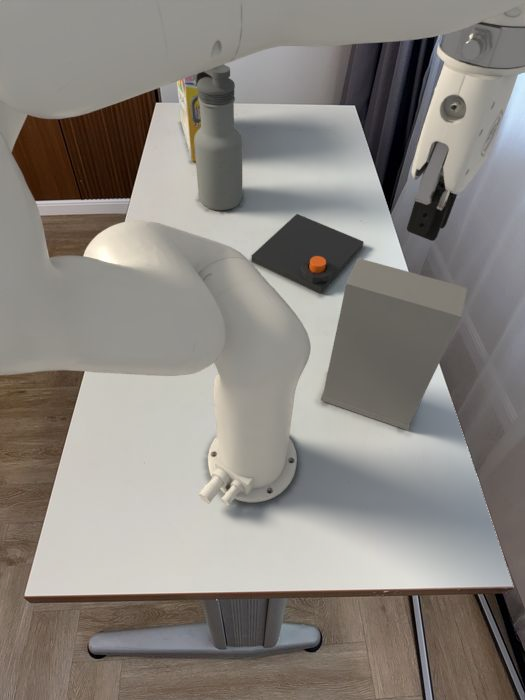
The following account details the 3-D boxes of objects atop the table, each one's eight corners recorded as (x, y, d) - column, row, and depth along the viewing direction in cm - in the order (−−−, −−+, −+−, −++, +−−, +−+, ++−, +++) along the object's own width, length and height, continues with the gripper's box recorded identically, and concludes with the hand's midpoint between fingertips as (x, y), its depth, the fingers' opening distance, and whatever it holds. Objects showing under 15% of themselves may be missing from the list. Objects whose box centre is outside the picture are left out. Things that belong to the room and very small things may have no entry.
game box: (213, 160, 123) (207, 36, 102) (191, 162, 122) (180, 38, 101) (200, 120, 136) (192, 3, 115) (180, 122, 135) (168, 4, 114)
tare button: (320, 275, 93) (321, 268, 92) (306, 269, 94) (307, 262, 93) (327, 267, 95) (329, 259, 94) (314, 260, 96) (315, 253, 95)
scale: (321, 294, 94) (323, 282, 92) (251, 261, 100) (251, 248, 97) (362, 247, 103) (365, 235, 101) (296, 219, 109) (297, 207, 106)
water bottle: (189, 195, 114) (176, 61, 92) (225, 181, 118) (220, 50, 96) (214, 217, 109) (207, 81, 87) (251, 202, 113) (252, 68, 91)
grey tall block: (415, 400, 80) (469, 283, 60) (407, 431, 76) (462, 317, 57) (331, 372, 83) (358, 253, 63) (320, 401, 79) (344, 283, 60)
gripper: (507, 84, 34) (430, 284, 48) (562, 20, 43) (483, 206, 57) (405, 57, 37) (360, 254, 51) (476, 1, 45) (421, 184, 59)
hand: (426, 227), depth 54 cm, fingers closed
